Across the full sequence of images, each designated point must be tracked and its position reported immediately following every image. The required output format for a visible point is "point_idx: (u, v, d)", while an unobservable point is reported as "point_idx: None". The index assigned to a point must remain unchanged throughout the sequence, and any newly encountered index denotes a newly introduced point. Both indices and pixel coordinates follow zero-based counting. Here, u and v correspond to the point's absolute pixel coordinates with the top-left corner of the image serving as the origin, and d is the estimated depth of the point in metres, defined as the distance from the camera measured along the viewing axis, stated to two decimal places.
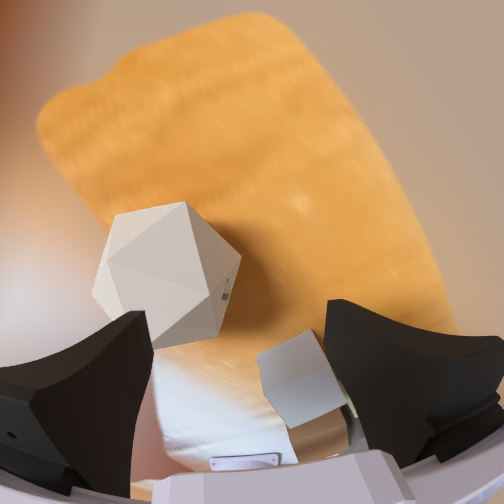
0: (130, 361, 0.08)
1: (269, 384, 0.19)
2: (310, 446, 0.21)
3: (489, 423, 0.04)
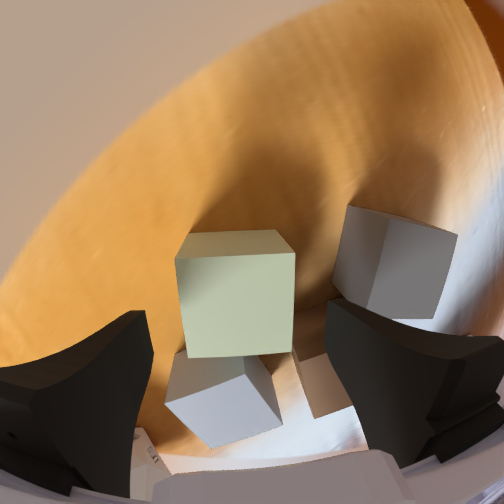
0: (129, 361, 0.08)
1: None
2: (339, 394, 0.15)
3: (489, 423, 0.04)
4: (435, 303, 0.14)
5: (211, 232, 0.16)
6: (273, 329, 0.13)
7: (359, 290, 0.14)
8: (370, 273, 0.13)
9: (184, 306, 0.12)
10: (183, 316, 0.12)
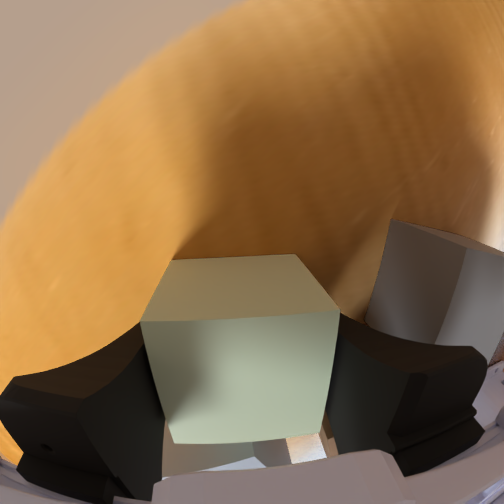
0: None
1: None
2: None
3: (461, 440, 0.04)
4: (494, 348, 0.09)
5: (204, 260, 0.11)
6: (297, 412, 0.08)
7: None
8: (431, 323, 0.08)
9: (162, 387, 0.07)
10: (162, 399, 0.07)
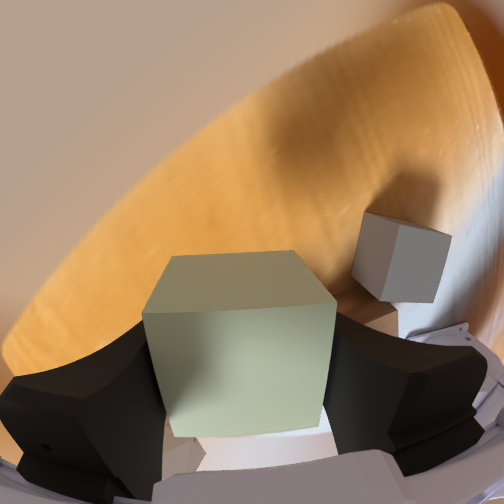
0: None
1: None
2: None
3: (461, 440, 0.04)
4: (434, 290, 0.17)
5: (204, 256, 0.12)
6: (295, 405, 0.08)
7: (376, 280, 0.18)
8: (384, 266, 0.17)
9: (163, 379, 0.07)
10: (162, 391, 0.08)
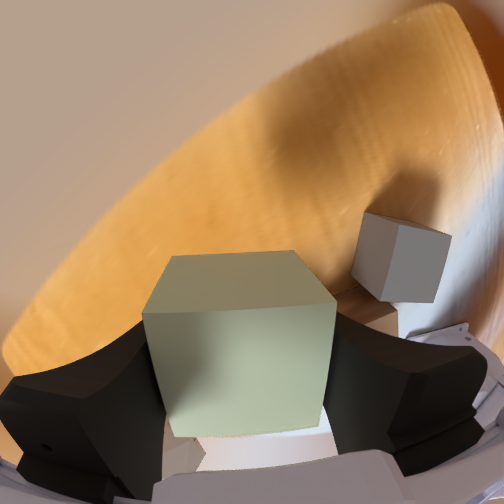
0: None
1: None
2: None
3: (461, 440, 0.04)
4: (434, 290, 0.17)
5: (204, 256, 0.12)
6: (295, 405, 0.08)
7: (376, 280, 0.18)
8: (384, 266, 0.17)
9: (163, 379, 0.07)
10: (162, 391, 0.08)
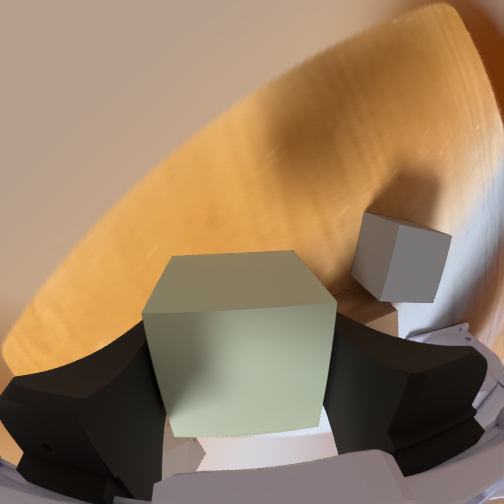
0: None
1: None
2: None
3: (461, 440, 0.04)
4: (434, 290, 0.17)
5: (204, 256, 0.12)
6: (295, 405, 0.08)
7: (376, 280, 0.18)
8: (384, 266, 0.17)
9: (163, 379, 0.07)
10: (162, 391, 0.08)
